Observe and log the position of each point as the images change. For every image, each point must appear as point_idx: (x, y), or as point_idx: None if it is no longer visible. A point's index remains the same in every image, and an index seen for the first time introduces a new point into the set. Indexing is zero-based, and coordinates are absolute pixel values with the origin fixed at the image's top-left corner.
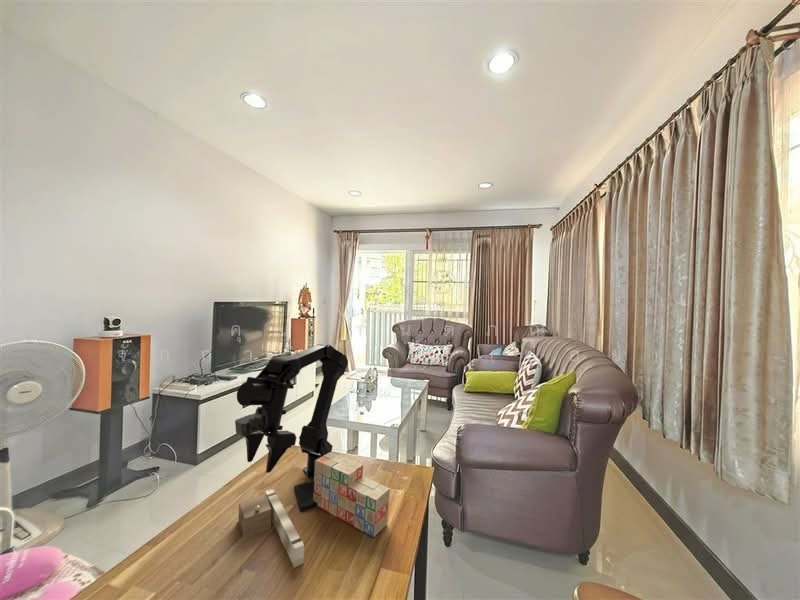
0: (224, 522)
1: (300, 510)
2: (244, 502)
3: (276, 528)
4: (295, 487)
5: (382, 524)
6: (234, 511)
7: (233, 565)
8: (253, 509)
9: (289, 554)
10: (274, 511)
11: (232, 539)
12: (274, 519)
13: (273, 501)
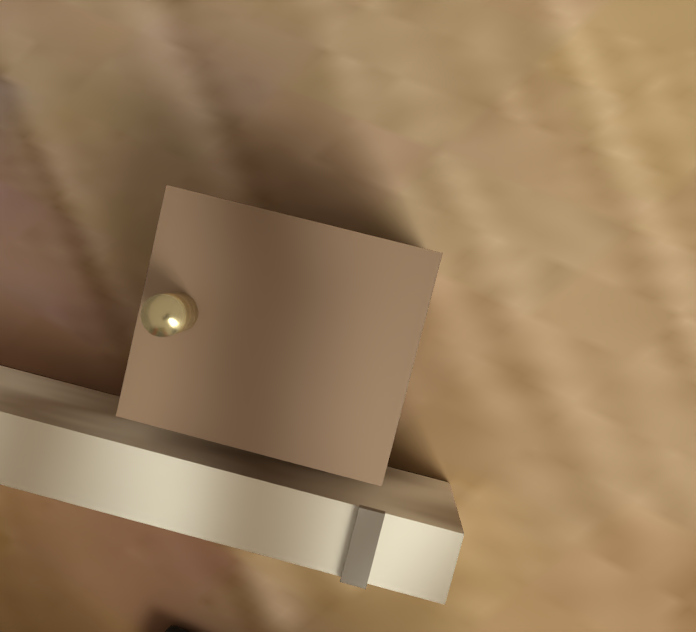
0: (497, 176)
1: (175, 627)
2: (397, 288)
3: None
4: None
5: None
6: (567, 284)
7: (47, 54)
8: (229, 299)
9: None
10: (148, 442)
11: (274, 144)
12: None
13: (249, 500)
